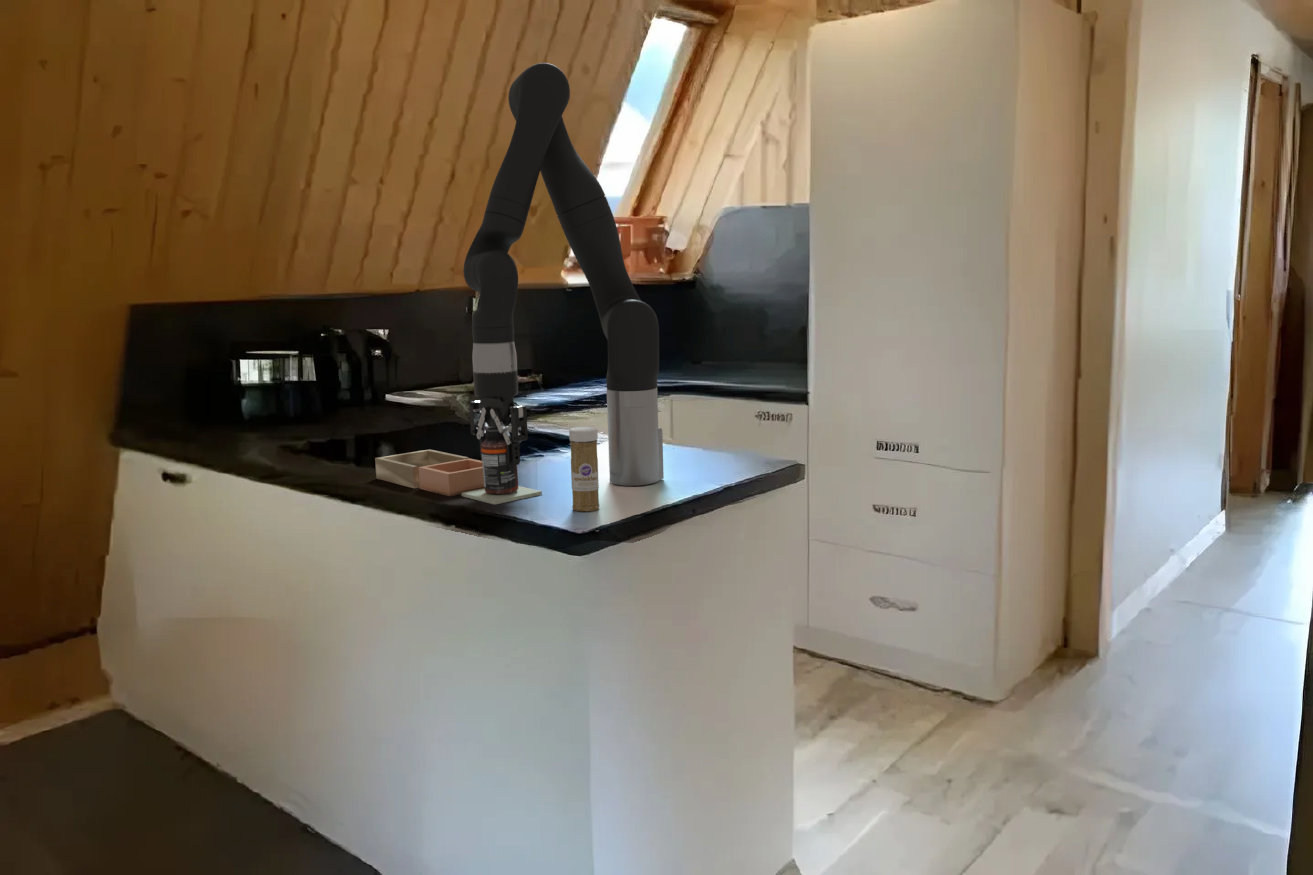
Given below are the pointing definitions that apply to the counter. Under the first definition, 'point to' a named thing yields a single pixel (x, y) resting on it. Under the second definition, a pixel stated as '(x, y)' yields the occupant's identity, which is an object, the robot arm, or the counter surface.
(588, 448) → the sprinkles bottle
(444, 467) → the pink open box
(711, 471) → the counter surface
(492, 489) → the supplement bottle
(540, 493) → the pad
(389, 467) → the beige open box
